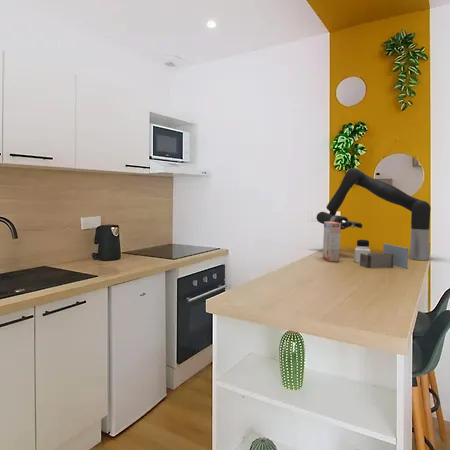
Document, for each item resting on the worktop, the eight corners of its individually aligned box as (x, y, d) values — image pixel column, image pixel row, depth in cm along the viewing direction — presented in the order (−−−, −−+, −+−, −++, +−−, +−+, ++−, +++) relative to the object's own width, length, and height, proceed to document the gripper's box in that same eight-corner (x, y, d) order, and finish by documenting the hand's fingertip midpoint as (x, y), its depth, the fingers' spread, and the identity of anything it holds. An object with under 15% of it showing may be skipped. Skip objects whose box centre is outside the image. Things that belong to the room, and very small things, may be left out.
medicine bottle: (370, 263, 198) (371, 240, 197) (356, 262, 199) (357, 240, 199) (368, 261, 205) (369, 239, 204) (354, 260, 206) (355, 238, 206)
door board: (384, 262, 203) (385, 243, 202) (407, 268, 185) (408, 248, 184) (382, 262, 202) (383, 243, 202) (405, 268, 185) (406, 248, 184)
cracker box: (339, 262, 200) (341, 222, 199) (328, 262, 200) (330, 222, 199) (333, 258, 214) (334, 221, 213) (322, 257, 214) (323, 221, 213)
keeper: (383, 264, 195) (384, 251, 194) (392, 267, 187) (393, 253, 187) (359, 265, 192) (360, 251, 192) (368, 268, 185) (369, 253, 184)
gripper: (328, 215, 222) (344, 218, 207) (350, 216, 226) (366, 219, 211) (327, 228, 223) (342, 232, 208) (348, 228, 227) (365, 233, 212)
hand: (354, 226), depth 209 cm, fingers open, 8 cm apart
